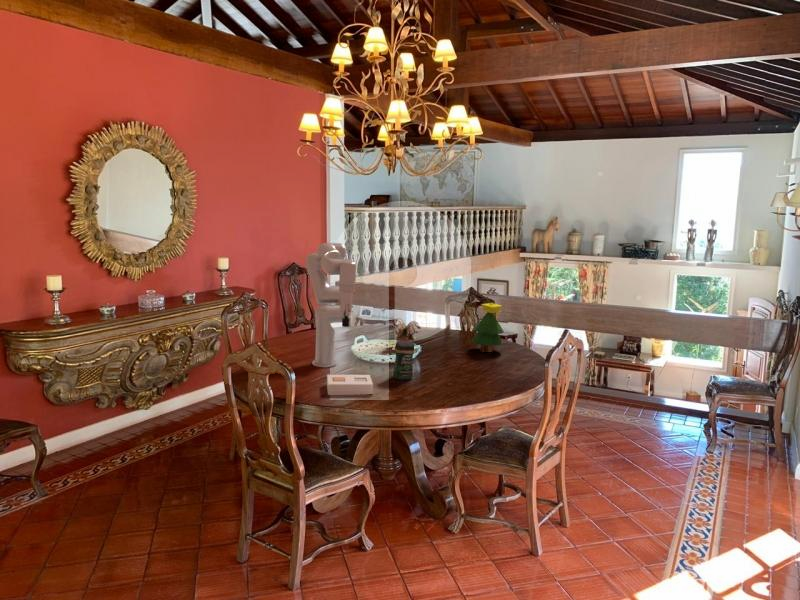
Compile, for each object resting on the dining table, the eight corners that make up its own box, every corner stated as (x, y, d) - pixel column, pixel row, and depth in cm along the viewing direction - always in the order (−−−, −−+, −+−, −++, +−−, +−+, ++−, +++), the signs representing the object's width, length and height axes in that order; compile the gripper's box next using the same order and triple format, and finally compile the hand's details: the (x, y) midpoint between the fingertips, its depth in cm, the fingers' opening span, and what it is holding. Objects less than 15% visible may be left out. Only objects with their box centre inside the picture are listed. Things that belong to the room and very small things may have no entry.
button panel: (326, 384, 278) (327, 374, 278) (369, 384, 282) (369, 374, 281) (328, 395, 265) (328, 384, 264) (372, 395, 268) (373, 384, 267)
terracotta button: (332, 384, 274) (333, 377, 274) (343, 384, 275) (343, 377, 274) (333, 387, 269) (333, 380, 269) (344, 387, 270) (344, 380, 270)
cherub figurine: (422, 346, 359) (424, 317, 355) (420, 354, 341) (422, 323, 338) (393, 343, 360) (394, 315, 357) (390, 351, 342) (391, 321, 339)
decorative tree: (463, 349, 356) (467, 300, 351) (486, 345, 368) (490, 298, 362) (486, 357, 341) (490, 306, 336) (509, 353, 353) (514, 304, 347)
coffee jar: (395, 380, 290) (397, 343, 287) (391, 375, 298) (393, 339, 294) (414, 380, 293) (416, 343, 290) (409, 375, 301) (412, 339, 297)
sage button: (354, 385, 276) (354, 378, 275) (365, 385, 277) (365, 378, 276) (355, 389, 271) (355, 382, 270) (366, 389, 272) (366, 382, 271)
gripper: (338, 285, 283) (336, 322, 286) (339, 290, 269) (338, 330, 272) (353, 285, 284) (352, 323, 288) (356, 291, 270) (354, 330, 273)
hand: (345, 326), depth 280 cm, fingers closed
